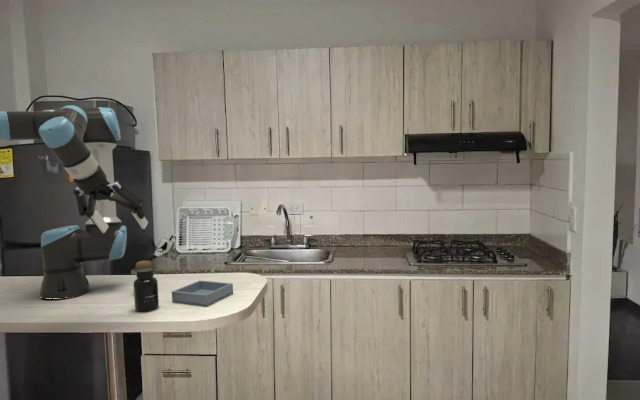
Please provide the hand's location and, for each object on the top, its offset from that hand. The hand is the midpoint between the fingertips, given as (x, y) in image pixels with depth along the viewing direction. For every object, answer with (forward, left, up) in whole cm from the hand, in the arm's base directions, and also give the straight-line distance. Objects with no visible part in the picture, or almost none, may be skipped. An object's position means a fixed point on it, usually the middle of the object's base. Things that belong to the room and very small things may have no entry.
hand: (125, 227), depth 134 cm
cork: (-10, +15, -25) cm, 31 cm away
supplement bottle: (+4, +2, -25) cm, 26 cm away
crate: (+14, +16, -25) cm, 33 cm away
